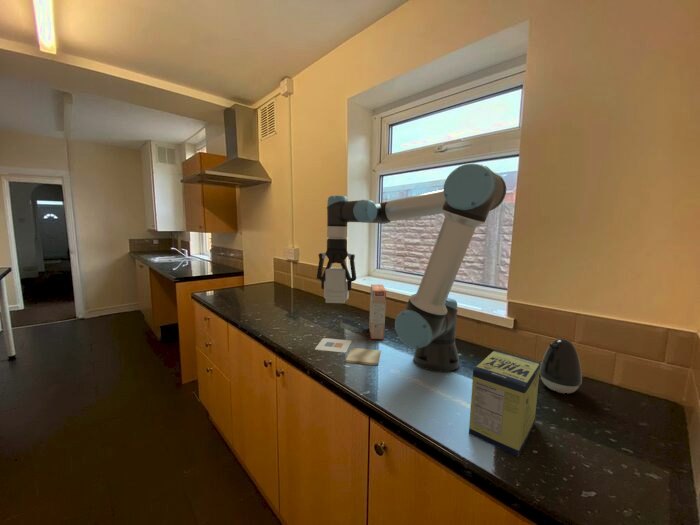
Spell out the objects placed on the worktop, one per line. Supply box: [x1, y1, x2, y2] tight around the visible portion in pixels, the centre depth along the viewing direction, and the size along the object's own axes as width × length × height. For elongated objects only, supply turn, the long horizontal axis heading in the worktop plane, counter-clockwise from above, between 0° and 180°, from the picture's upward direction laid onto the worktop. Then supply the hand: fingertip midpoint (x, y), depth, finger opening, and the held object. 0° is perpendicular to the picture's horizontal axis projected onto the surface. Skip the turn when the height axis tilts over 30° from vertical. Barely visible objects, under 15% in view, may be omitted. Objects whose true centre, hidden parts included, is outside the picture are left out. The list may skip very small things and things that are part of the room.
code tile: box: [314, 337, 353, 354], centre depth 117 cm, size 12×12×1 cm
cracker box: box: [368, 284, 387, 340], centre depth 130 cm, size 14×6×21 cm, turn 179°
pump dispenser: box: [539, 338, 583, 394], centre depth 88 cm, size 10×10×15 cm
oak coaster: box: [345, 347, 382, 366], centre depth 107 cm, size 11×11×1 cm
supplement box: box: [324, 266, 347, 304], centre depth 114 cm, size 7×7×13 cm
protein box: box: [468, 349, 541, 458], centre depth 69 cm, size 10×16×16 cm
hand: (336, 298), depth 115 cm, fingers closed on supplement box, 8 cm apart
